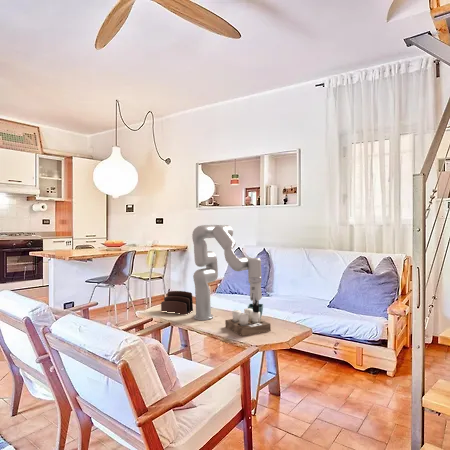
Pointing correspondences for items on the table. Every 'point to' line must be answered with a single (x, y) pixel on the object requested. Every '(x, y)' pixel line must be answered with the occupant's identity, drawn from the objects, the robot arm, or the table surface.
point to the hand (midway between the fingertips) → (256, 311)
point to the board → (247, 327)
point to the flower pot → (259, 308)
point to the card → (255, 325)
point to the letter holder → (178, 302)
